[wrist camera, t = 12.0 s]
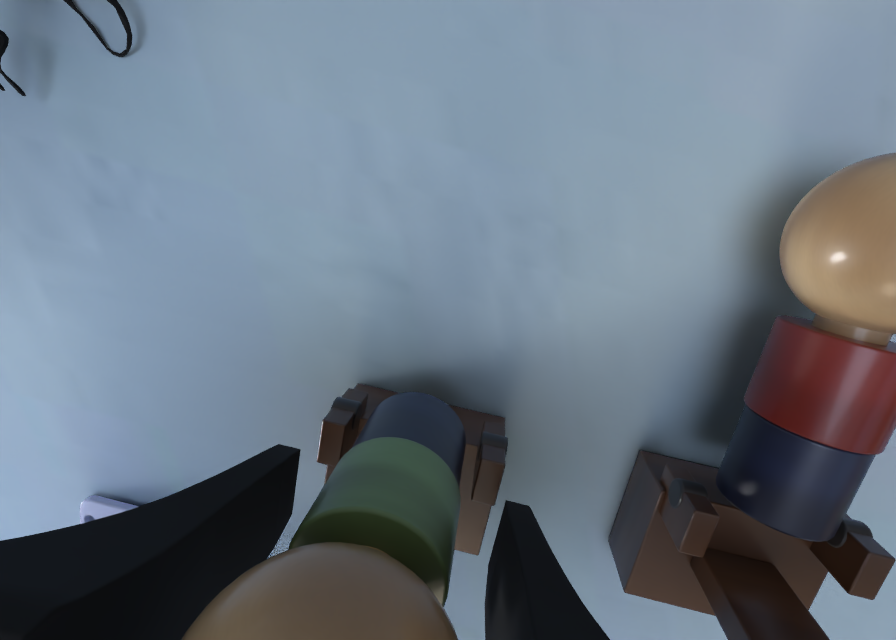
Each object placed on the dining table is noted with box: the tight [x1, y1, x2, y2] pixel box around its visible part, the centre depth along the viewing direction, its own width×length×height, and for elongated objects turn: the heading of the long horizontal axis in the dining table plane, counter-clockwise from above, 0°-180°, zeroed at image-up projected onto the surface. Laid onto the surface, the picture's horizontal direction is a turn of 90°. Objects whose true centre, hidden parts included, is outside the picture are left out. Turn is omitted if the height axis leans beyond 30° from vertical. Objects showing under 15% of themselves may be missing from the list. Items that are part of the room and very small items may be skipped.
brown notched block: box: [317, 383, 508, 555], centre depth 14 cm, size 5×6×8 cm
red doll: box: [716, 153, 896, 542], centre depth 12 cm, size 10×4×4 cm, turn 168°
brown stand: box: [608, 451, 895, 640], centre depth 14 cm, size 5×6×8 cm
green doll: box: [181, 392, 466, 640], centre depth 9 cm, size 10×4×4 cm
